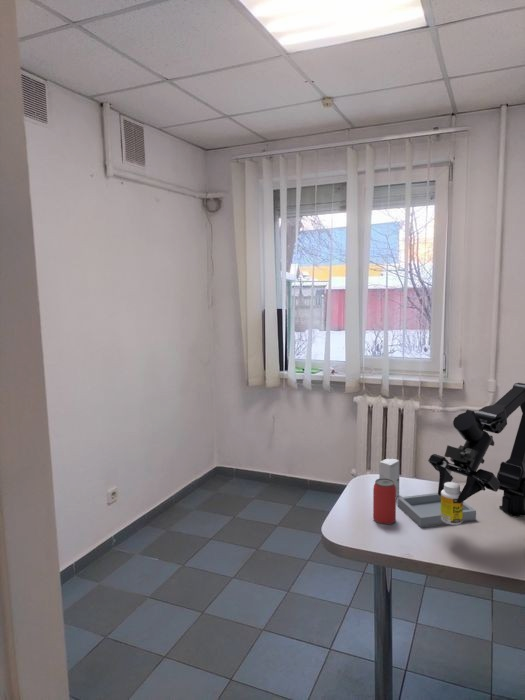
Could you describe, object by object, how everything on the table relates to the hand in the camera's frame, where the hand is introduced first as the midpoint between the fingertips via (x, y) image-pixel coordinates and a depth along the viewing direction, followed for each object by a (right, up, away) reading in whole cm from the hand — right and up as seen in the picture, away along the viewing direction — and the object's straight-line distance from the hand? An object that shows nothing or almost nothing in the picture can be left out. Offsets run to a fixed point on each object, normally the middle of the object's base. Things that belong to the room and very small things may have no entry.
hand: (448, 498), depth 129 cm
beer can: (-13, -12, +17) cm, 24 cm away
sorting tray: (+4, -11, +20) cm, 23 cm away
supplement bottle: (+1, -7, +2) cm, 7 cm away
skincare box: (-7, -9, +33) cm, 35 cm away
